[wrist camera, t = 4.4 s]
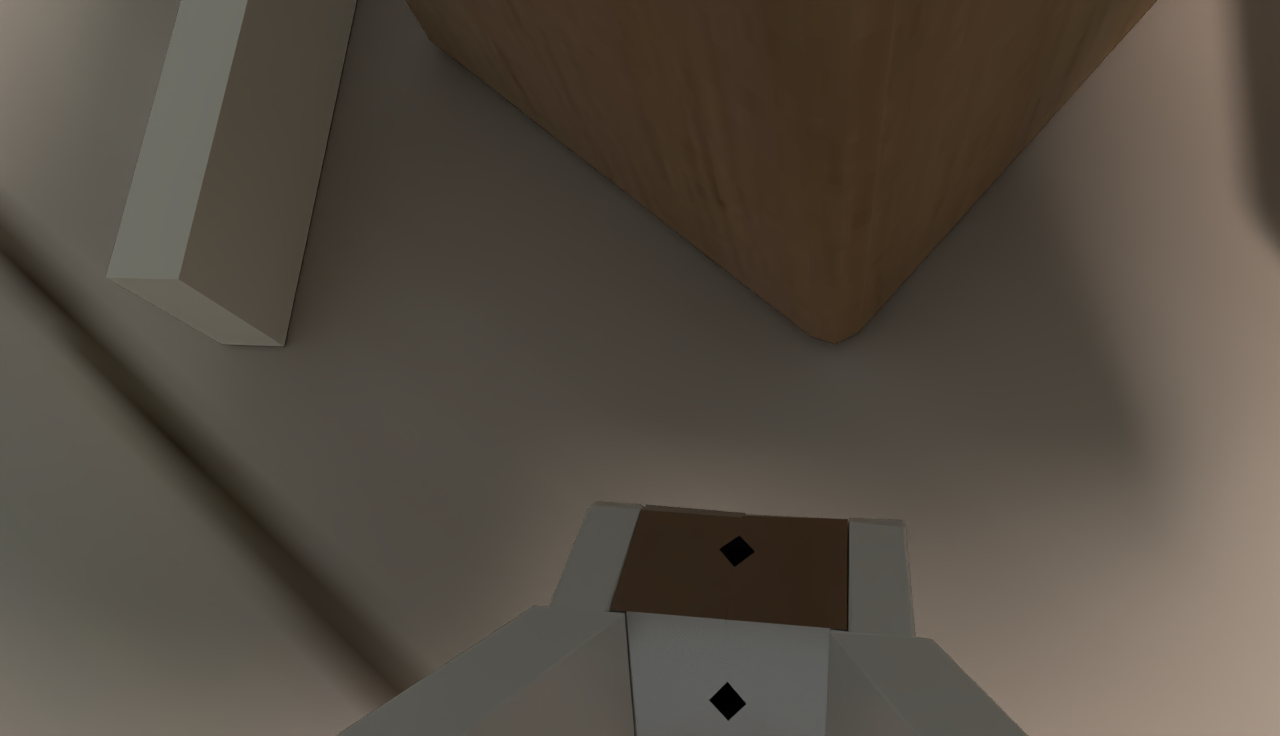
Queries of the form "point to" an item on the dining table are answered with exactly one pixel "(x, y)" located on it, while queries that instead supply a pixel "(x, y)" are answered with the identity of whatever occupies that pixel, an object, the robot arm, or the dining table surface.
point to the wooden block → (792, 118)
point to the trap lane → (233, 164)
